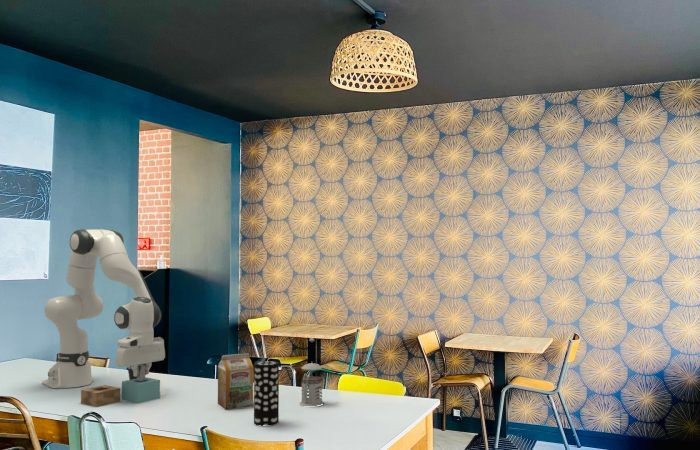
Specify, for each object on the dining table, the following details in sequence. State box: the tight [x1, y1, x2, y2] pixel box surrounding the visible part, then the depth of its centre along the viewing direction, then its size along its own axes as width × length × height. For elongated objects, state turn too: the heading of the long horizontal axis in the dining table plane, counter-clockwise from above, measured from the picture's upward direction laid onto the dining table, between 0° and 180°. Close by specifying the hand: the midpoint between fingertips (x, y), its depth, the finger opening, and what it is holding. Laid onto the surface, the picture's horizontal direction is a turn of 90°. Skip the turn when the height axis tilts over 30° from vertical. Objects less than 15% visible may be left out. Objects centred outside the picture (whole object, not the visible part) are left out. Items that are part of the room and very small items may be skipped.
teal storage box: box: [121, 376, 161, 404], centre depth 236 cm, size 10×10×8 cm
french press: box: [298, 337, 325, 407], centre depth 232 cm, size 10×12×25 cm
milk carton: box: [217, 352, 254, 411], centre depth 231 cm, size 11×11×19 cm
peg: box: [137, 364, 146, 382], centre depth 236 cm, size 3×3×12 cm
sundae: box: [125, 364, 141, 380], centre depth 251 cm, size 7×7×15 cm
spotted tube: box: [253, 360, 280, 427], centre depth 207 cm, size 8×8×20 cm
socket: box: [80, 384, 122, 408], centre depth 231 cm, size 10×10×6 cm
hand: (141, 375), depth 236 cm, fingers closed on peg, 3 cm apart
